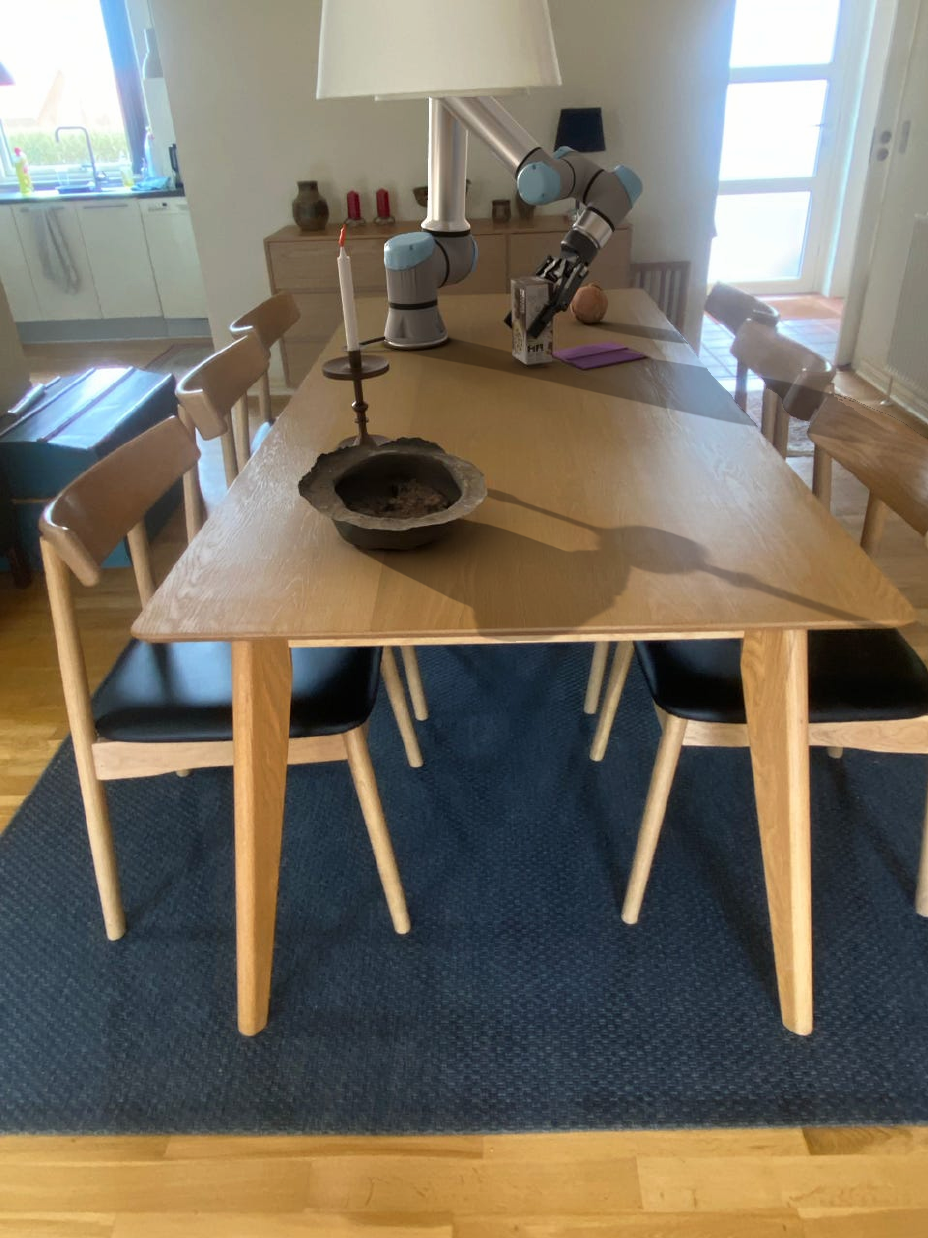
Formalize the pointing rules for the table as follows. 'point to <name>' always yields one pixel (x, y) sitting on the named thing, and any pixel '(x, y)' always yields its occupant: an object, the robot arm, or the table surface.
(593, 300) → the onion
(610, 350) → the napkin
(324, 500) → the stone bowl
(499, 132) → the robot arm
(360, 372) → the candlestick
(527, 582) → the table surface
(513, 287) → the coffee box
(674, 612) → the table surface
